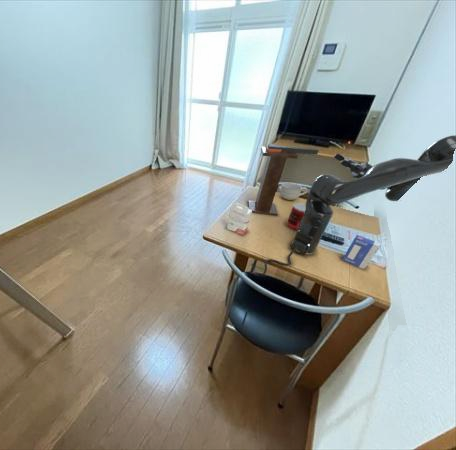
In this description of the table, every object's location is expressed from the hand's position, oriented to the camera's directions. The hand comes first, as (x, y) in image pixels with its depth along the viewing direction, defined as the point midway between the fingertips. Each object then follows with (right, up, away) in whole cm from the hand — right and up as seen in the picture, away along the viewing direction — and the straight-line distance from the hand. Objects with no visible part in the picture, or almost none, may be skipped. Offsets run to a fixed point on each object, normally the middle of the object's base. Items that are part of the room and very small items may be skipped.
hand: (338, 158), depth 114 cm
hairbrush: (-21, +4, +3) cm, 22 cm away
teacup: (-5, -15, +32) cm, 36 cm away
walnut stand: (-26, -22, +22) cm, 41 cm away
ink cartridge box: (-46, -33, +5) cm, 57 cm away
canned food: (-16, -32, +8) cm, 36 cm away
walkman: (-4, -47, -14) cm, 49 cm away
